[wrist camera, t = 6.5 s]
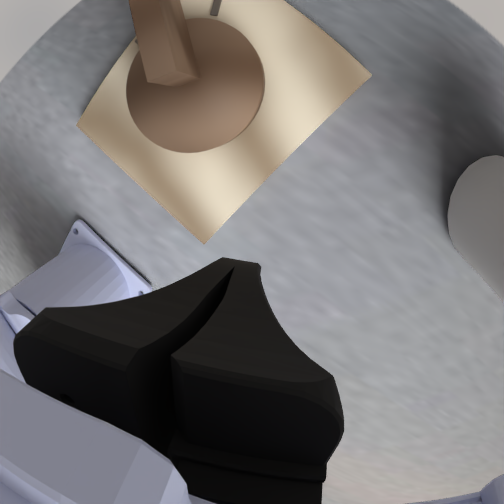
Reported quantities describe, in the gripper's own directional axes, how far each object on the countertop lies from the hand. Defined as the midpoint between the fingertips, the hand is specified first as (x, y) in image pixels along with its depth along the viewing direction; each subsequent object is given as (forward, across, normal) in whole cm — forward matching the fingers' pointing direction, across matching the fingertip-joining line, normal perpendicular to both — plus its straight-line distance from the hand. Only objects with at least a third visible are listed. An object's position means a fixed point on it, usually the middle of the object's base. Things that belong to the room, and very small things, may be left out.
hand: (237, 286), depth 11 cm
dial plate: (+9, +4, -7) cm, 12 cm away
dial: (+8, +5, -9) cm, 13 cm away
